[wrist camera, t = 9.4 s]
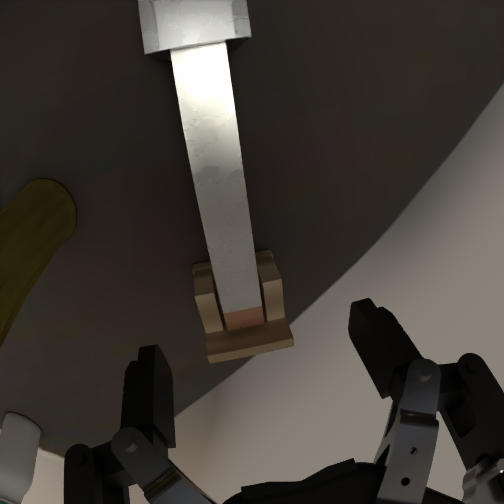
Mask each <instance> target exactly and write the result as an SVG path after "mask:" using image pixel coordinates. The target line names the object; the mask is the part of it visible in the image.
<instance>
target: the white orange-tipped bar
mask: <svg viewBox="0 0 504 504" xmlns="http://www.w3.org/2000/svg"><path fill="white" fill-rule="evenodd" d="M170 52H171V59H172V65H173V72H174V78H175V84H176V90H177V96H178V102H179V107H180V113H181V119H182V124H183V130H184V135H185V140H186V146H187V151H188V156H189V161H190V166H191V171H192V176H193V181H194V186H195V191H196V196H197V201H198V206H199V210H200V215H201V220H202V224H203V229H204V233H205V238H206V242H207V247H208V251H209V255H210V260H211V264H212V268H213V273H214V277H215V281H216V285H217V289H218V294H219V298H220V302H221V306H222V310H223V314H224V318H225V322H226V326H227V330H228V331H232V330H237V329H242V328H247V327H251V326H256V325H261V324H264V317H263V310H262V302H261V295H260V288H259V280H258V273H257V266H256V258H255V251H254V244H253V237H252V229H251V222H250V215H249V207H248V200H247V193H246V186H245V179H244V171H243V164H242V157H241V150H240V143H239V135H238V128H237V121H236V114H235V107H234V100H233V93H232V85H231V78H230V71H229V64H228V57H227V50H226V43H225V41H224V42H216V43H209V44H203V45H197V46H191V47H186V48H181V49H176V50H171V51H170Z"/></svg>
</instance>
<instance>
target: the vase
mask: <svg viewBox="0 0 504 504" xmlns="http://www.w3.org/2000/svg"><path fill="white" fill-rule="evenodd" d="M76 217H77V216H76V208H75V205H74V202H73V200H72V198H71V196H70V195H69V193H68V192H67V191H66V190H65V188H64V187H62V186H61V185H60V184H58V183H57V182H55V181H52V180H49V179H38V180H34V181H32V182H31V183H29V184H28V185H27V186H26V187H25V188H24V189H23V190H22V191H21V193H20V194H19V195H17V196H16V197H15V198H14V199H13V200H12V201H11V202H9V203H8V204H7V205H6V206H5V207H4V208H3V209H2V210H1V211H0V348H1V346H2V344H3V342H4V340H5V338H6V336H7V334H8V332H9V330H10V328H11V326H12V324H13V322H14V320H15V318H16V316H17V314H18V312H19V311H20V309H21V307H22V305H23V303H24V301H25V299H26V297H27V295H28V294H29V292H30V290H31V289H32V287H33V286H34V284H35V283H36V281H37V280H38V278H39V277H40V275H41V274H42V272H43V271H44V269H45V268H46V266H47V265H48V263H49V262H50V260H51V259H52V257H53V256H54V254H55V253H56V251H57V250H58V248H59V247H60V246H61V244H62V243H63V242H65V241H66V240H67V239H68V238H69V236H70V235H71V234H72V232H73V231H74V228H75V225H76Z"/></svg>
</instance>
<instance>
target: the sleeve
mask: <svg viewBox="0 0 504 504" xmlns="http://www.w3.org/2000/svg"><path fill="white" fill-rule="evenodd" d="M138 6H139V14H140V22H141V29H142V36H143V43H144V50H145V54H146V55H147V56H149V57H150V58H152V59H154V60H155V61H157V62H159V63H164V62H168V61H172V59H171V52H170V51H171V50H176V49H181V48H186V47H191V46H197V45H203V44H209V43H216V42H224V41H225V43H226V50H227V51H234V50H236V49H237V48H238V47H239V46H241V45H242V44H243V43H244V42H245V41H246V40H248V39H249V38H250V37H251V31H250V24H249V17H248V10H247V3H246V0H138Z"/></svg>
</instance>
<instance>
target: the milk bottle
mask: <svg viewBox="0 0 504 504" xmlns="http://www.w3.org/2000/svg"><path fill="white" fill-rule="evenodd" d="M40 433H41V431H40V428H39V427H38V425H36V424H35V423H34V422H33V421H31V420H30V419H28V418H26V417H24V416H22V415H19V414H16V413H7V414H6V416H5V419H4V423H3V427H2V430H1V434H0V504H21V501H22V499H23V497H24V495H25V494H26V493H27V491H28V490H29V488H30V486H31V484H32V480H33V474H34V468H35V462H36V456H37V450H38V444H39V439H40Z"/></svg>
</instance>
